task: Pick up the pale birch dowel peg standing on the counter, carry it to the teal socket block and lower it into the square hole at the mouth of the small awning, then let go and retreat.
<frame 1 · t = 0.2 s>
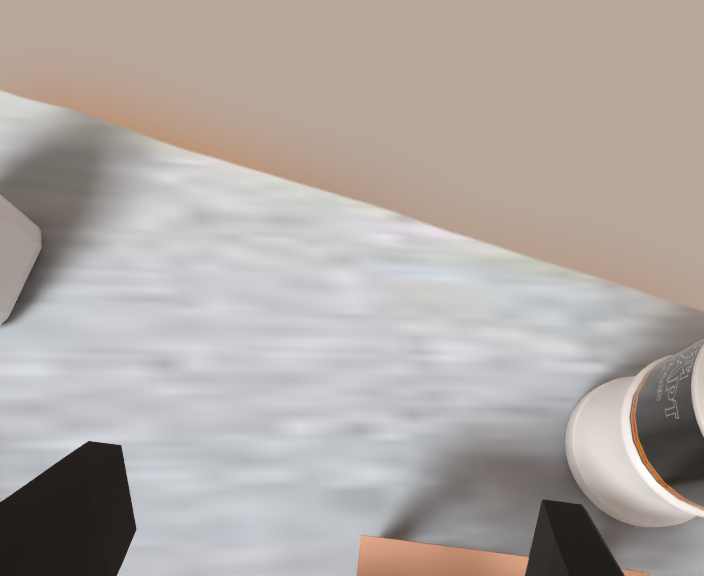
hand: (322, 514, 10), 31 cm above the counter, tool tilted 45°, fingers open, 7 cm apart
vodka: (631, 452, 41), on the counter
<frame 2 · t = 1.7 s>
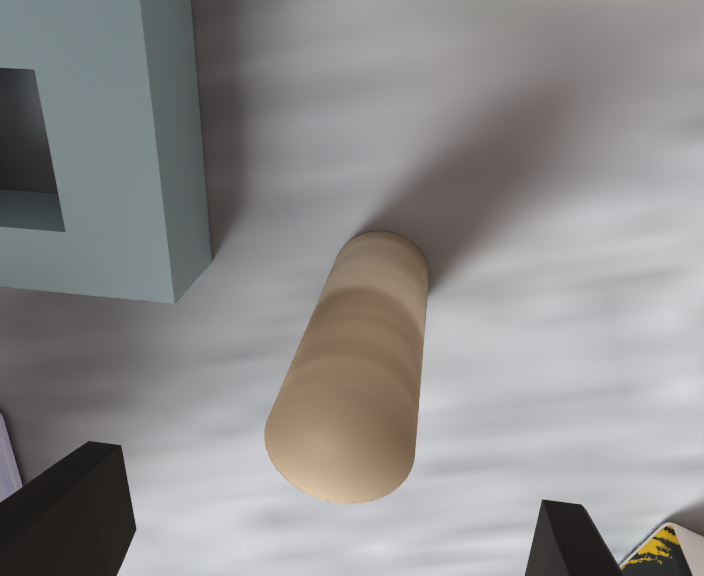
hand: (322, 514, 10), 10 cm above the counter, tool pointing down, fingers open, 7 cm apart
birch peg: (380, 276, 19), on the counter
socket block: (27, 38, 17), on the counter
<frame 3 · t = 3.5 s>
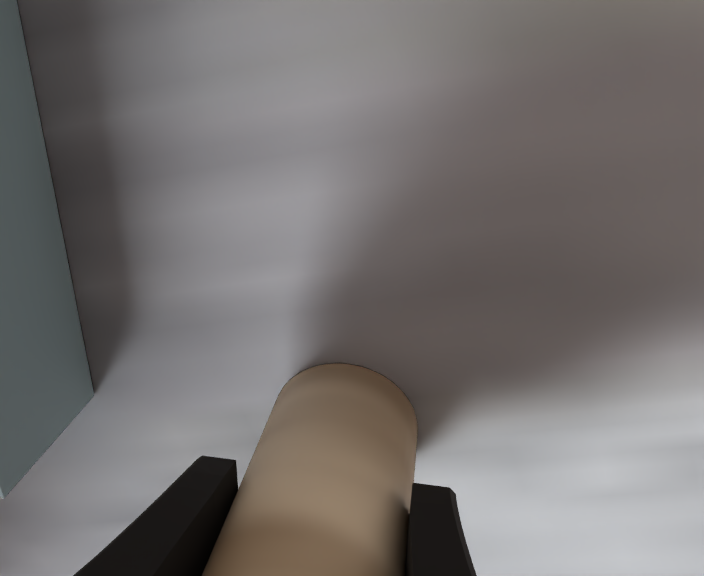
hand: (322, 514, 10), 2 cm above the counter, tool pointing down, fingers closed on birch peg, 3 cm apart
birch peg: (344, 424, 13), on the counter, touching gripper
when the fingers open (3 cm above the counter, at t = 6.7 s): birch peg stays where it is, resting in socket block.
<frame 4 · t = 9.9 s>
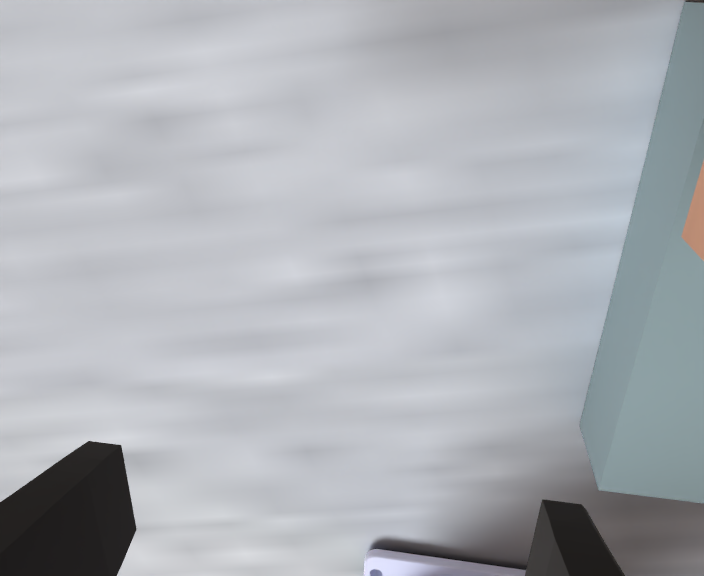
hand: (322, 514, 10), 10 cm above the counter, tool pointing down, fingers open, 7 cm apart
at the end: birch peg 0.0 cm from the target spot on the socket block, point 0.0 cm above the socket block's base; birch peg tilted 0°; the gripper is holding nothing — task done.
